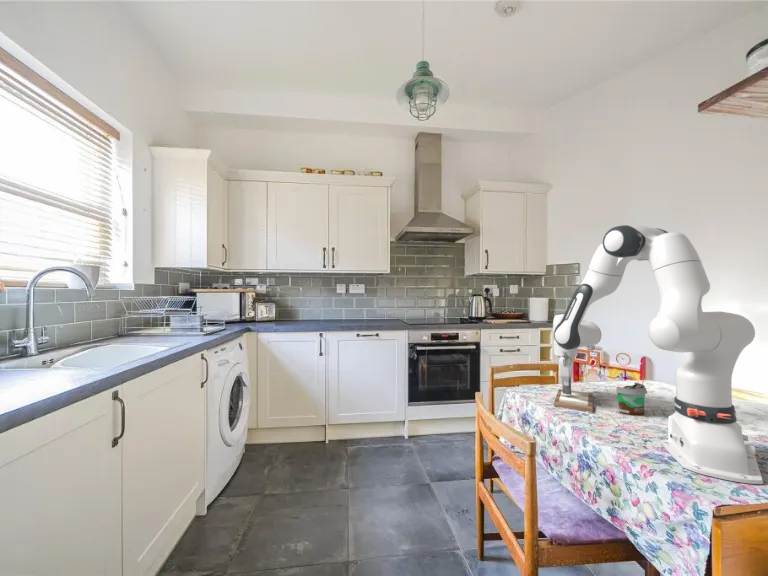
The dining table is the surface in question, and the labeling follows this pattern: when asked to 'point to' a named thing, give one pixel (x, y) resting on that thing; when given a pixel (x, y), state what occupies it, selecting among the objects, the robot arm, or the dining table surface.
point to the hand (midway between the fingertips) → (566, 383)
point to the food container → (631, 399)
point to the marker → (567, 388)
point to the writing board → (575, 400)
